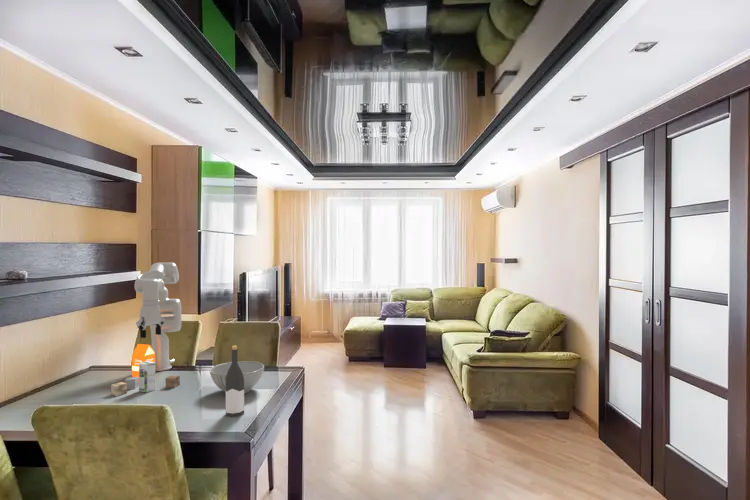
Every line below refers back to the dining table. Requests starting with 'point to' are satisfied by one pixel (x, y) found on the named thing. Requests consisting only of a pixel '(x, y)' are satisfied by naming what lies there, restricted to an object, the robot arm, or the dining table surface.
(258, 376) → the decorative bowl
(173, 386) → the walnut cube
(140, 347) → the orange juice
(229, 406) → the wine bottle
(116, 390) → the maple cube
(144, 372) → the syrup box
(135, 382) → the slate painted cube
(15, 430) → the dining table surface
